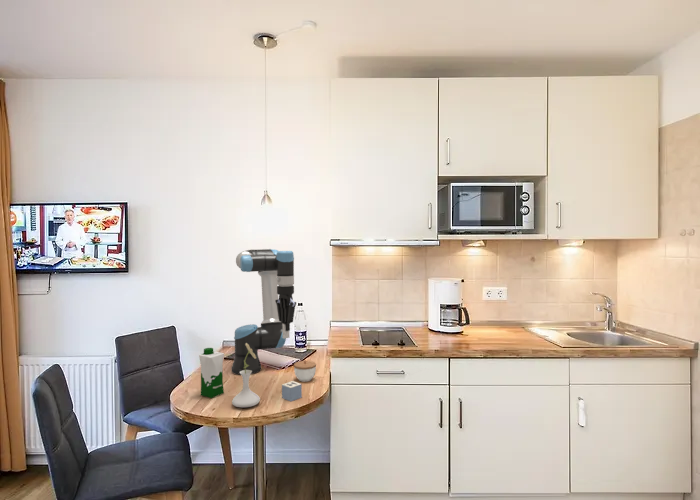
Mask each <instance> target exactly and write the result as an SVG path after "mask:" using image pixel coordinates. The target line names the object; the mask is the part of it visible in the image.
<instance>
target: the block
mask: <svg viewBox="0 0 700 500" xmlns="http://www.w3.org/2000/svg"><path fill="white" fill-rule="evenodd" d="M302 386H303V385H302V383H300V382H297V381H294V380H291V381H288V382H285V383H283V384H281V399H284V400H285V401H288V402H293V401H296V400H299V399H302V398H303V397H302V395H303V394H302V392H303V391H302Z"/></svg>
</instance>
